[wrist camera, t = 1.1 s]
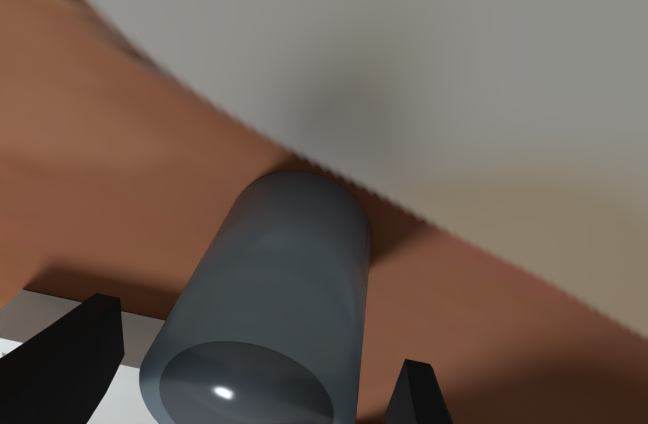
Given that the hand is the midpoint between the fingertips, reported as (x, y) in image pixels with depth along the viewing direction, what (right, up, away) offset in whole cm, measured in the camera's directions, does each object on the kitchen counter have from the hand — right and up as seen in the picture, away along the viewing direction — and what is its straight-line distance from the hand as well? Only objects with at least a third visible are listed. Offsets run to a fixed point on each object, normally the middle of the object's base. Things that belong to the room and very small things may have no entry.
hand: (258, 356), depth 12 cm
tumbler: (+1, +3, +5) cm, 6 cm away
